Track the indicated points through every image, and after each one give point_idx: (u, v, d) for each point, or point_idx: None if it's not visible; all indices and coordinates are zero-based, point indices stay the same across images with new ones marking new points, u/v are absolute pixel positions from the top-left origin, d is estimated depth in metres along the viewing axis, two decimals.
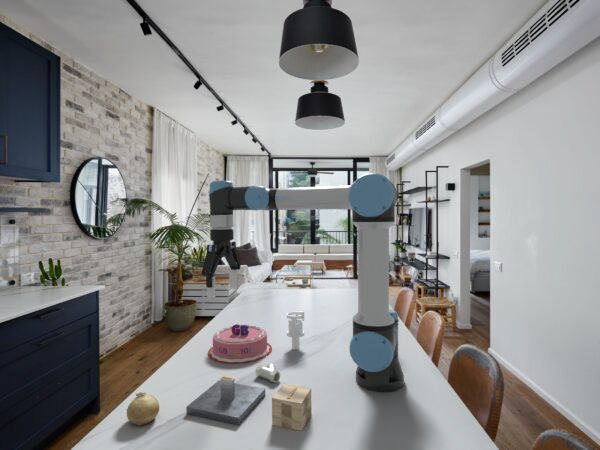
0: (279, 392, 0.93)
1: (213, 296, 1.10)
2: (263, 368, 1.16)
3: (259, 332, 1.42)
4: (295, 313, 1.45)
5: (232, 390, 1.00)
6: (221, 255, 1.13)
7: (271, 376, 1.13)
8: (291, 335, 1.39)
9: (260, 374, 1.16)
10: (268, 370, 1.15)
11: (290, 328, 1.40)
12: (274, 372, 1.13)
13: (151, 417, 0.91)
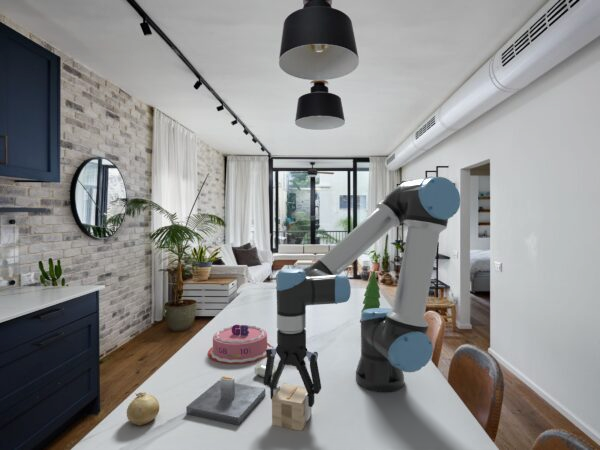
0: (279, 392, 0.93)
1: None
2: (262, 367, 1.17)
3: (259, 332, 1.42)
4: None
5: (232, 390, 1.00)
6: (280, 363, 0.92)
7: None
8: None
9: (259, 373, 1.17)
10: None
11: None
12: (272, 371, 1.14)
13: (151, 417, 0.91)
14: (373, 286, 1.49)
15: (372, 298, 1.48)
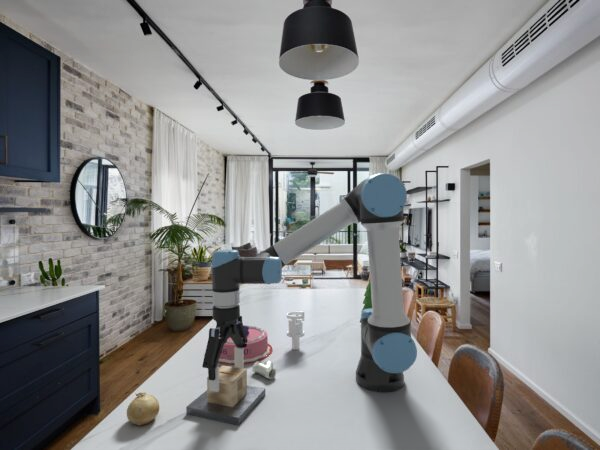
0: (223, 378, 0.97)
1: (216, 390, 0.94)
2: (260, 364, 1.19)
3: (260, 333, 1.41)
4: (295, 313, 1.45)
5: None
6: (226, 339, 0.97)
7: (266, 372, 1.15)
8: (291, 335, 1.39)
9: (257, 370, 1.19)
10: (264, 367, 1.18)
11: (290, 328, 1.40)
12: (269, 369, 1.16)
13: (151, 417, 0.91)
14: None
15: None
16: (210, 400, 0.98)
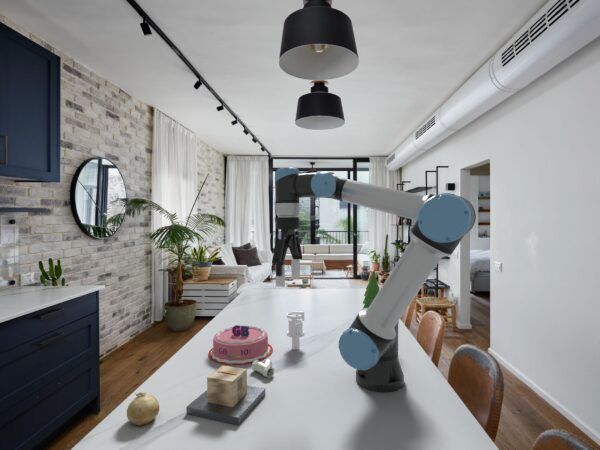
0: (223, 378, 0.97)
1: (283, 285, 1.08)
2: (258, 363, 1.20)
3: (260, 333, 1.41)
4: (295, 313, 1.45)
5: None
6: (289, 243, 1.11)
7: (264, 371, 1.16)
8: (291, 335, 1.39)
9: (255, 369, 1.20)
10: (263, 365, 1.19)
11: (290, 328, 1.40)
12: (268, 367, 1.17)
13: (151, 417, 0.91)
14: (373, 286, 1.49)
15: (372, 298, 1.48)
16: (210, 400, 0.98)
